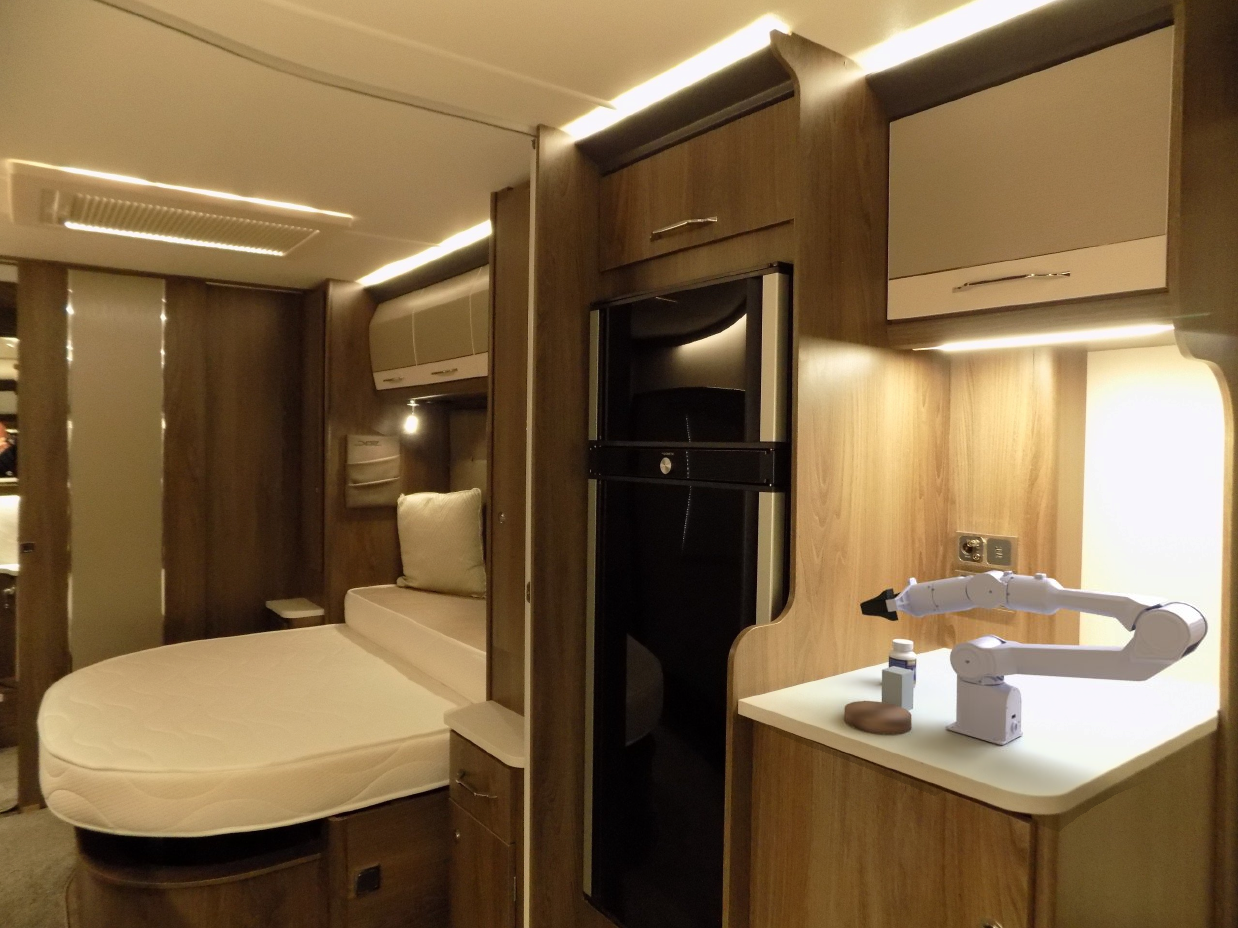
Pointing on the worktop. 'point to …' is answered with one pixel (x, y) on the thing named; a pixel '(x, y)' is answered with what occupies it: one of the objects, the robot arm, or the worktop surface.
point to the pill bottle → (903, 656)
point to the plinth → (877, 717)
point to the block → (898, 687)
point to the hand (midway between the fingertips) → (873, 606)
